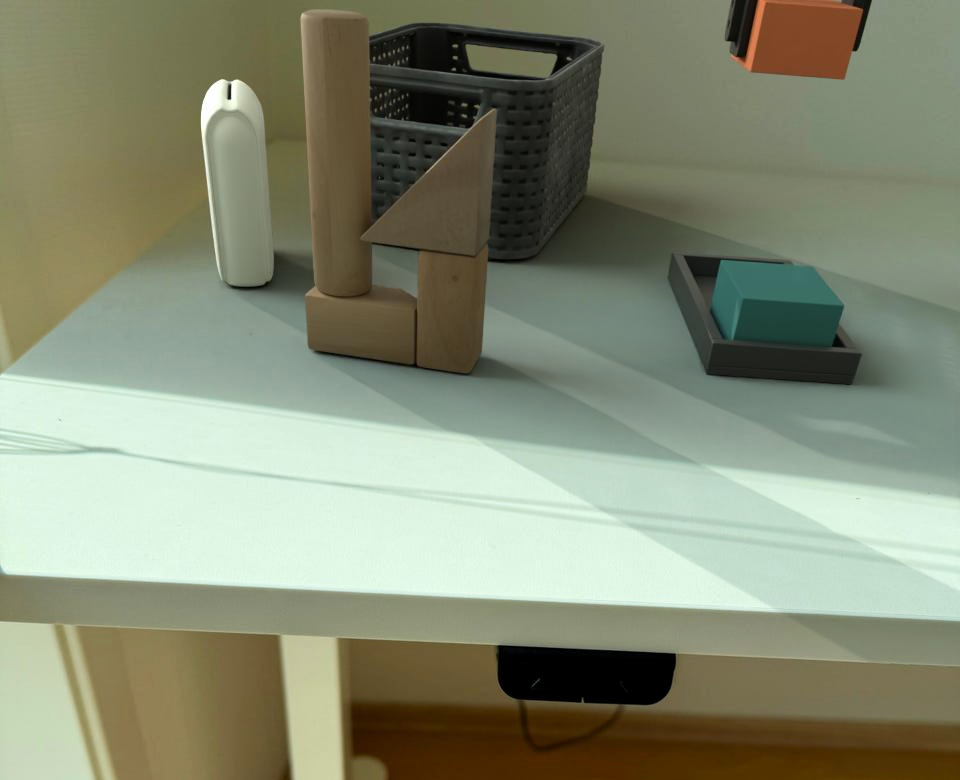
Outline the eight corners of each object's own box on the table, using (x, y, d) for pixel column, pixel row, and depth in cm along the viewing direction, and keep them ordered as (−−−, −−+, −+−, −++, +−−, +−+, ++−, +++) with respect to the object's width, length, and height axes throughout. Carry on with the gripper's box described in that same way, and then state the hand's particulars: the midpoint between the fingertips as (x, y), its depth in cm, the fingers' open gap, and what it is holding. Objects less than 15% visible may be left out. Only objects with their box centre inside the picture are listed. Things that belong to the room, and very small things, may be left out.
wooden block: (470, 376, 57) (489, 32, 46) (306, 352, 59) (285, 11, 47) (482, 355, 60) (503, 25, 49) (326, 332, 61) (311, 6, 50)
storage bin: (529, 268, 75) (546, 77, 66) (309, 235, 78) (299, 49, 70) (591, 190, 96) (610, 39, 88) (417, 167, 100) (419, 19, 91)
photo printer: (219, 246, 74) (200, 68, 66) (274, 247, 75) (260, 70, 67) (215, 289, 66) (192, 93, 59) (276, 289, 67) (261, 95, 59)
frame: (667, 278, 75) (672, 251, 74) (783, 286, 75) (790, 259, 74) (706, 374, 60) (713, 342, 58) (852, 384, 60) (862, 353, 59)
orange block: (816, 63, 69) (832, -1, 67) (844, 79, 63) (863, 9, 60) (730, 57, 69) (743, -8, 67) (750, 72, 63) (765, 1, 60)
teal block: (797, 322, 67) (813, 266, 64) (826, 366, 60) (845, 305, 58) (708, 316, 67) (720, 259, 64) (728, 359, 60) (742, 297, 58)
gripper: (990, -274, 57) (891, 62, 69) (713, -297, 57) (660, 43, 68) (1042, -295, 51) (925, 76, 63) (734, -320, 51) (672, 56, 63)
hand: (787, 56), depth 65 cm, fingers closed on orange block, 6 cm apart
